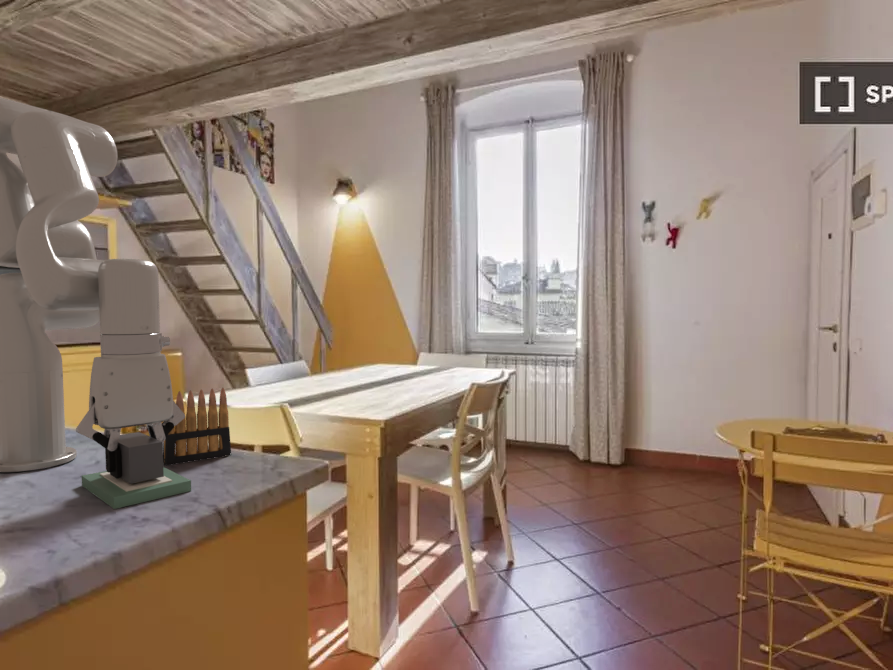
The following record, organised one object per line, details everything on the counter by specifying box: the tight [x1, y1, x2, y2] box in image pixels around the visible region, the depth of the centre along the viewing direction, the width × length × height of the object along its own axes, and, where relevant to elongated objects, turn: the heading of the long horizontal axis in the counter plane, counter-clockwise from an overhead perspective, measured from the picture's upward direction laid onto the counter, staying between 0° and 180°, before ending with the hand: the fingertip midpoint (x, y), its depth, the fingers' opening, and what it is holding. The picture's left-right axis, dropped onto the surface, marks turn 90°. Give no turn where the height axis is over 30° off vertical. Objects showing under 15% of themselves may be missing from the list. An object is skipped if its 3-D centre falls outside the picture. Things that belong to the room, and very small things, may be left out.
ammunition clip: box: [163, 387, 232, 466], centre depth 99 cm, size 11×2×12 cm, turn 127°
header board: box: [81, 466, 192, 510], centre depth 84 cm, size 14×10×5 cm
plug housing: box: [118, 431, 164, 484], centre depth 84 cm, size 9×4×5 cm, turn 47°
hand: (135, 471), depth 84 cm, fingers closed on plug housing, 4 cm apart
